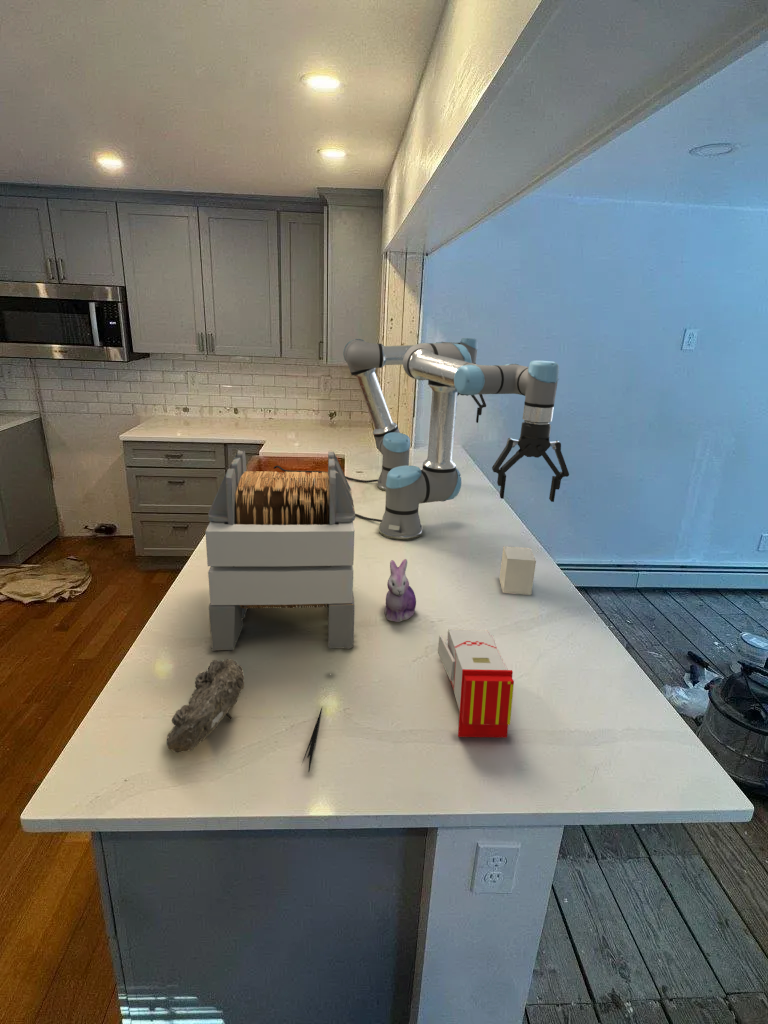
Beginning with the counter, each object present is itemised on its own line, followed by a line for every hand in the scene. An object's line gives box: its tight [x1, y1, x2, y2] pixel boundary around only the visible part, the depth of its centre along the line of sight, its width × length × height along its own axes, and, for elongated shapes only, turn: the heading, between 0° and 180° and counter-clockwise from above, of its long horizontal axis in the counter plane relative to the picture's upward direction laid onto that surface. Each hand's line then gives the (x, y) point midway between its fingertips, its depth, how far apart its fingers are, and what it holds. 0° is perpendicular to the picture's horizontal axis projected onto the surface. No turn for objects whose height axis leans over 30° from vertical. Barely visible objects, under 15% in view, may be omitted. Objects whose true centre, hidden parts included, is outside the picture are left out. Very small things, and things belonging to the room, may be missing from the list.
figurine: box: [384, 558, 417, 623], centre depth 145 cm, size 9×10×15 cm
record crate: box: [204, 449, 356, 652], centre depth 138 cm, size 34×33×41 cm
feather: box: [301, 673, 332, 771], centre depth 108 cm, size 2×28×2 cm
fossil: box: [166, 658, 245, 754], centre depth 106 cm, size 22×10×15 cm
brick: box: [498, 545, 537, 596], centre depth 163 cm, size 9×8×11 cm
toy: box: [437, 628, 515, 738], centre depth 117 cm, size 12×13×30 cm
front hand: (526, 498), depth 156 cm, fingers open, 13 cm apart
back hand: (462, 421), depth 261 cm, fingers open, 13 cm apart
